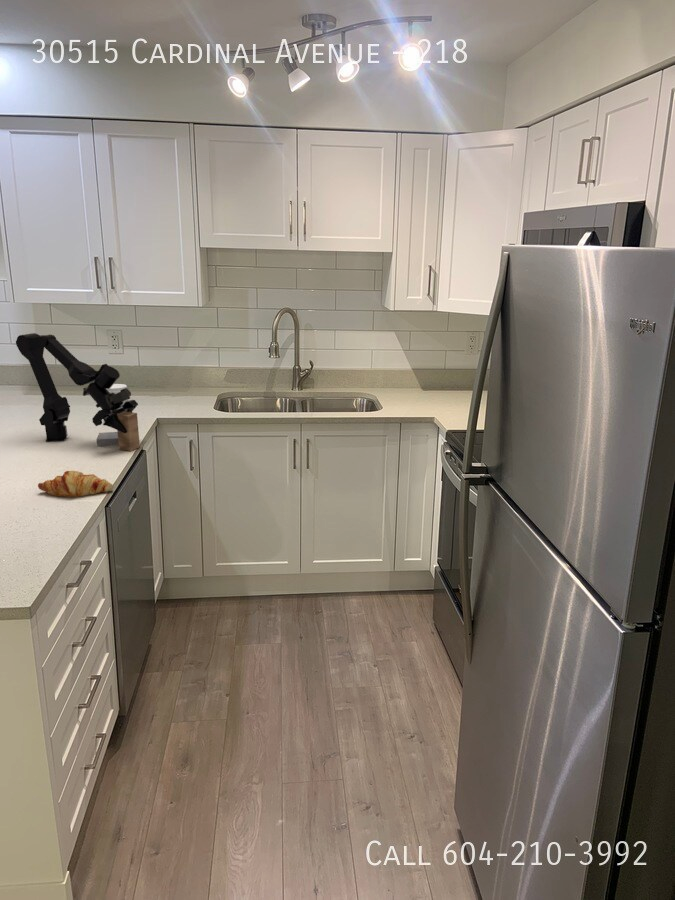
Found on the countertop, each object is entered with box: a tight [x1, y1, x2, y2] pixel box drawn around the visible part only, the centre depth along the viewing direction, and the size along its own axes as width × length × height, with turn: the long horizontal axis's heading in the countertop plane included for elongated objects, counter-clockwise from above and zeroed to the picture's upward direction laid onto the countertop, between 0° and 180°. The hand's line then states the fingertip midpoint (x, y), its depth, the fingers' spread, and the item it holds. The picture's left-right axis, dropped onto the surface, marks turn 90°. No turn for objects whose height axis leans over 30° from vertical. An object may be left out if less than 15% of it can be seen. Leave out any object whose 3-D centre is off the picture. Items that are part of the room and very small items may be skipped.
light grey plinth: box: [96, 431, 119, 447], centre depth 238 cm, size 9×9×2 cm
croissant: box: [37, 470, 114, 498], centre depth 189 cm, size 21×10×8 cm, turn 96°
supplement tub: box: [106, 383, 129, 407], centre depth 264 cm, size 10×10×15 cm
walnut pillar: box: [116, 411, 141, 452], centre depth 228 cm, size 5×5×12 cm
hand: (131, 430), depth 228 cm, fingers closed on walnut pillar, 5 cm apart
